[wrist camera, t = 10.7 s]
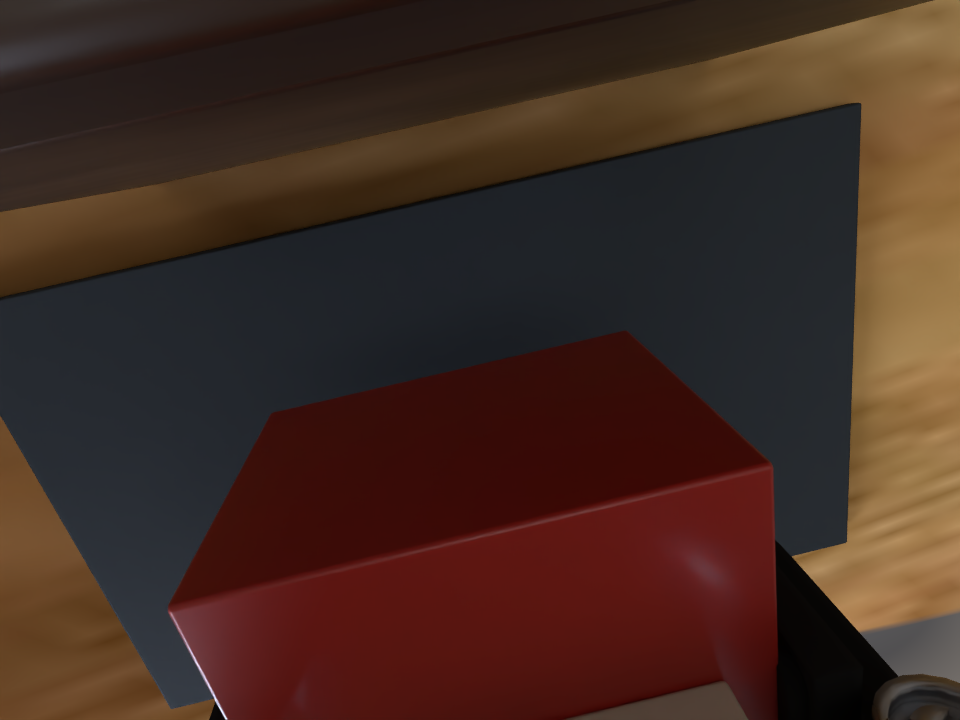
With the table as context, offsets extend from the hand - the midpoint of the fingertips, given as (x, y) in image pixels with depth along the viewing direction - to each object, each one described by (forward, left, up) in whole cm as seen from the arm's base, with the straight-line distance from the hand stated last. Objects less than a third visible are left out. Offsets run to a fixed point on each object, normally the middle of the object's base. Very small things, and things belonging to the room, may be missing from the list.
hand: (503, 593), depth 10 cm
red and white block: (0, 0, -2) cm, 2 cm away
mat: (0, 0, -5) cm, 5 cm away
